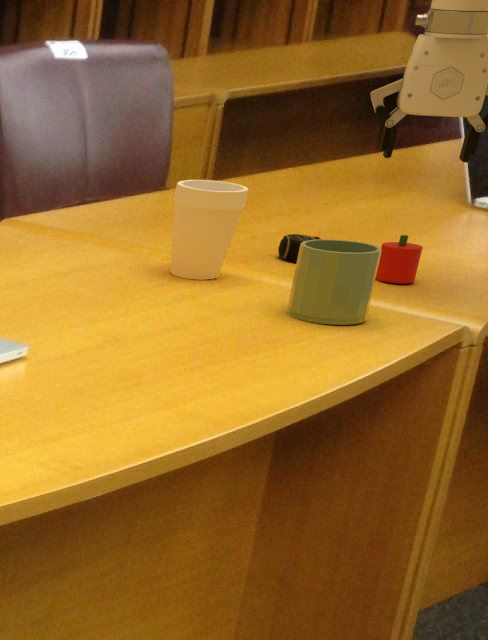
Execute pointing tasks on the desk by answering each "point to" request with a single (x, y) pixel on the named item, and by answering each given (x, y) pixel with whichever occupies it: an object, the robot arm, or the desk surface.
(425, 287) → the desk surface
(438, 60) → the robot arm
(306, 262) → the ceramic cup
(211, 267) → the foam cup
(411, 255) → the pepper
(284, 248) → the tape measure
